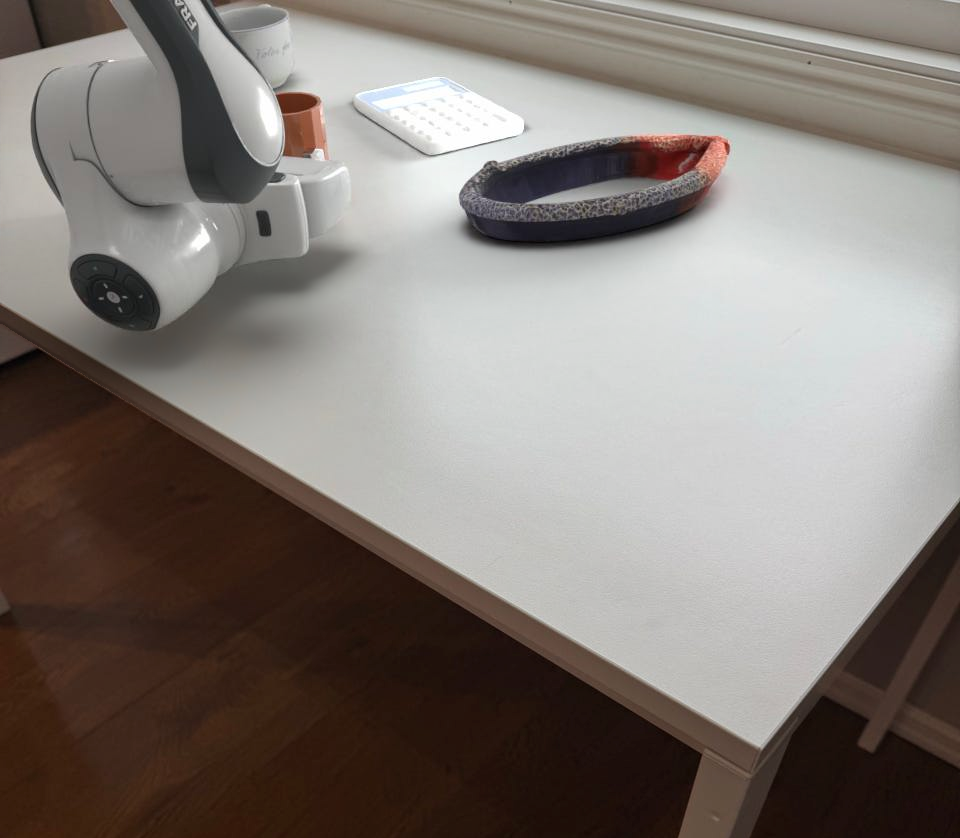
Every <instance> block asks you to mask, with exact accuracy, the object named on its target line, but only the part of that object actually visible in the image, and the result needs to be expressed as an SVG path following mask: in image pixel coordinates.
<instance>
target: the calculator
mask: <svg viewBox="0 0 960 838" xmlns="http://www.w3.org/2000/svg"><path fill="white" fill-rule="evenodd" d="M353 104H354V107H355V109H356V110H357V111H358V112H359V113H361V114H362V115H364V116H366V117H367V118H368V119H370V120H371V121H373V122H374V123H376V124H378V126H379V125H380V127H383V128H384V129H385V130H387V131H388V132H390V133H392V134H394V135H395V136H396V137H398V138H399V139H401V140H403V141H404V142H406V143H407V144H408V145H410V146H412V147H413V148H415V149H417V150H418V151H420V152H422V153H423V154H425V155H429V156H432V155H433V156H436V155H440V154H445V153H449V152H453V151H457V150H461V149H466V148H470V147H474V146H478V145H483V144H487V143H491V142H494V141H498V140H499V141H500V140H503V139H506V138H510V137H515V136H519V135H521V134H522V133H523V131H524V127H525V123H524V119H523V118H522V117H521V116H519V115H517V114H515V113H513V112H511V111H509V110H508V109H506V108H504V107H503V106H500V105H498V104H496V103H495V102H492V101H491V100H488V99H487V98H485V97H484V96H482V95H479V94H478V93H476V92H474V91H472V90H470V89H468V88H466V87H464V86H462V85H460V84H458V83H457V82H455V81H453V80H451V79H449V78H447V77H445V76H444V77H443V76H434V77H429V78H424V79H419V80H413V81H410V82H404V83H401V84H395V85H391V86H386V87H381V88H376V89H371V90H367V91H362V92H359V93H355V95H354V97H353Z"/></svg>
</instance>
